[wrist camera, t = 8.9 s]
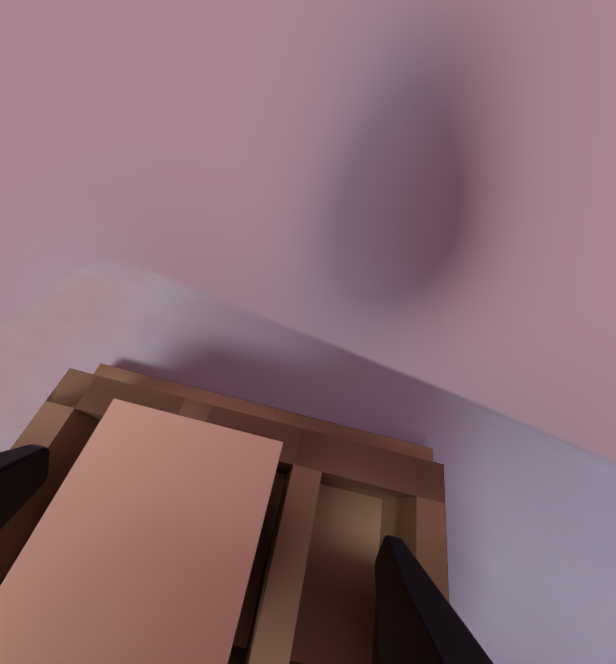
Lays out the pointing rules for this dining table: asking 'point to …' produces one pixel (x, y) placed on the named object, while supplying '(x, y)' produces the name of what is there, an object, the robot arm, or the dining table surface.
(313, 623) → the wooden compartment tray
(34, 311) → the dining table surface
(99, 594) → the tan rectangular block
